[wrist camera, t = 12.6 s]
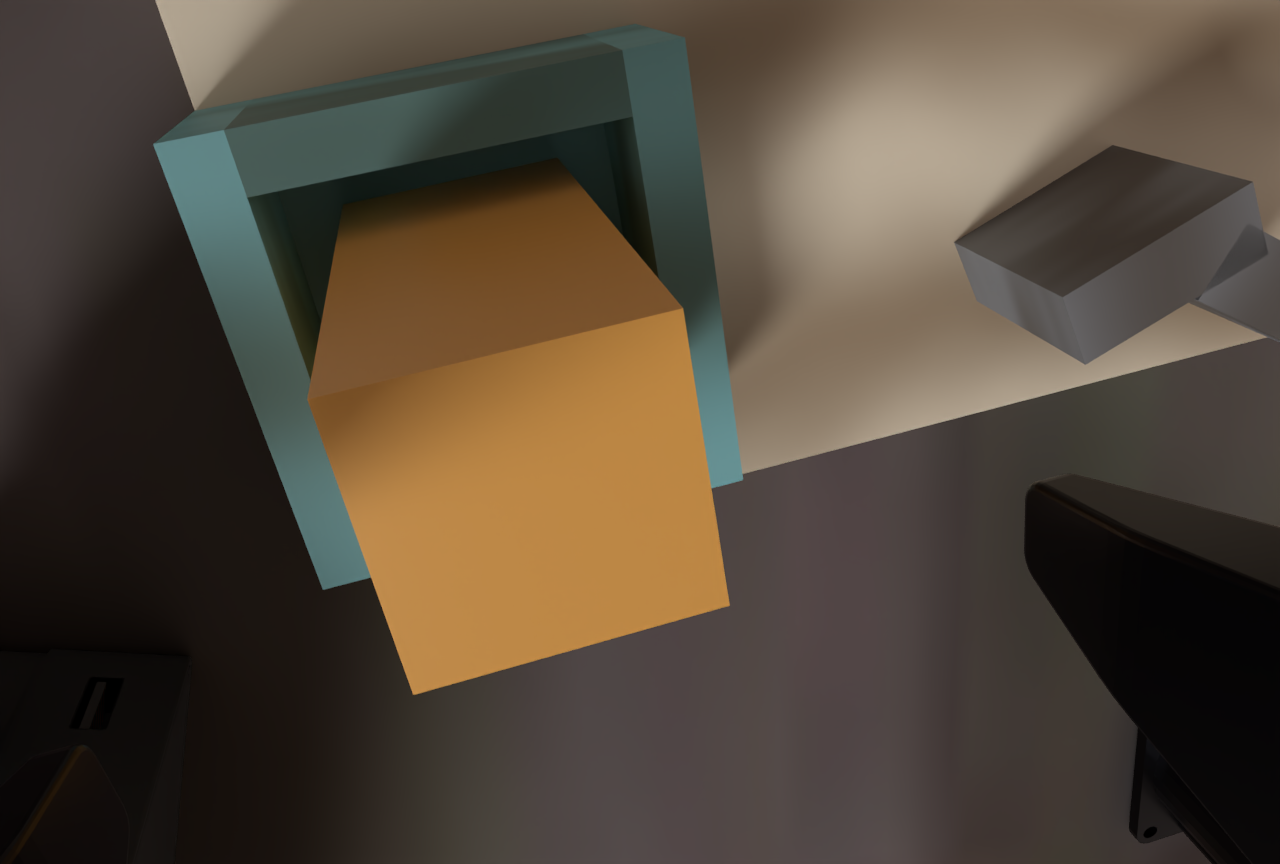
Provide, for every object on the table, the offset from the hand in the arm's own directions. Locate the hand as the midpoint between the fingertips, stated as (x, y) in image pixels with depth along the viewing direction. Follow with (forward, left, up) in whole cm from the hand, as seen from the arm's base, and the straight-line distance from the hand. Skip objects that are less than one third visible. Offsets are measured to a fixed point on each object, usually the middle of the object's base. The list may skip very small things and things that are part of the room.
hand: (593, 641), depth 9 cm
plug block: (0, 0, -11) cm, 11 cm away
